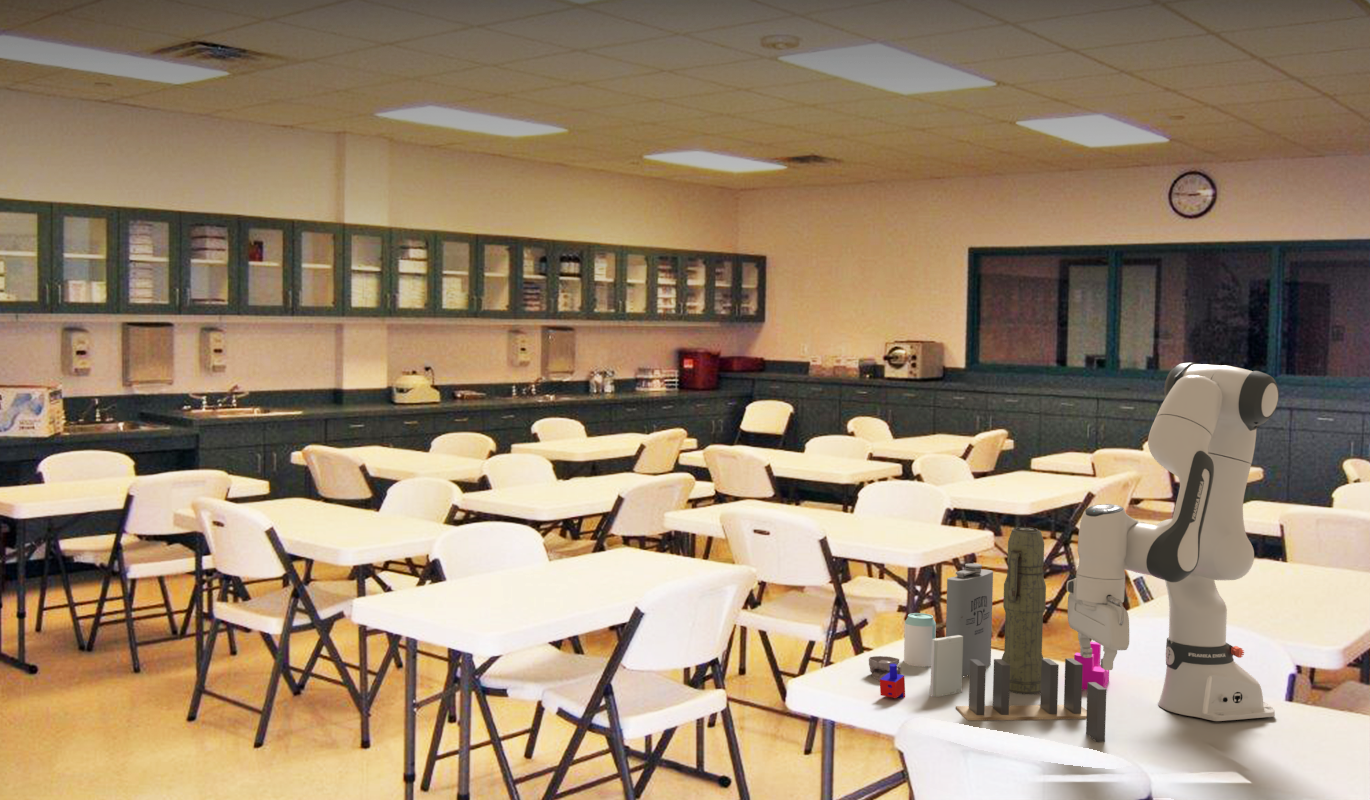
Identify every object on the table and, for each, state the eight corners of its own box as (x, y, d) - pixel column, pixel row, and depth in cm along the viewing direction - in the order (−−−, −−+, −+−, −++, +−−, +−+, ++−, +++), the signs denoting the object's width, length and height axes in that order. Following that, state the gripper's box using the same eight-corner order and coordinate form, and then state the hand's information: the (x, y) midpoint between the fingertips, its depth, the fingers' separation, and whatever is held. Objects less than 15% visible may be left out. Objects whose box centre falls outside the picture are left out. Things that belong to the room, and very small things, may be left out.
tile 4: (1047, 707, 265) (1049, 658, 265) (1057, 714, 260) (1058, 664, 260) (1040, 707, 265) (1041, 658, 265) (1049, 714, 260) (1050, 664, 260)
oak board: (1078, 707, 268) (1078, 704, 267) (1094, 718, 260) (1094, 715, 260) (955, 709, 265) (955, 706, 265) (968, 720, 257) (968, 717, 257)
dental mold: (883, 675, 291) (883, 653, 291) (908, 681, 286) (908, 659, 286) (860, 681, 286) (861, 659, 286) (885, 688, 281) (886, 665, 280)
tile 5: (1071, 706, 266) (1072, 658, 265) (1081, 713, 261) (1082, 664, 260) (1063, 706, 266) (1065, 658, 265) (1073, 713, 261) (1074, 664, 260)
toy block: (1103, 692, 280) (1104, 658, 280) (1073, 689, 283) (1074, 655, 282) (1111, 676, 294) (1112, 644, 293) (1082, 673, 296) (1083, 641, 296)
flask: (961, 682, 286) (964, 569, 285) (942, 678, 289) (945, 567, 288) (996, 667, 299) (999, 560, 298) (977, 664, 302) (980, 557, 301)
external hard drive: (962, 693, 277) (964, 636, 276) (934, 699, 272) (936, 640, 271) (957, 692, 278) (958, 634, 277) (929, 697, 273) (930, 639, 273)
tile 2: (1000, 707, 264) (1001, 659, 264) (1008, 714, 259) (1010, 665, 259) (992, 707, 264) (993, 659, 264) (1000, 714, 259) (1002, 665, 259)
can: (898, 667, 299) (899, 615, 298) (913, 661, 304) (914, 610, 303) (925, 672, 294) (926, 620, 293) (940, 666, 299) (941, 615, 299)
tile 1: (976, 708, 264) (977, 659, 263) (984, 715, 259) (985, 665, 258) (968, 708, 264) (969, 659, 263) (976, 715, 259) (977, 665, 258)
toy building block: (880, 703, 270) (879, 666, 269) (889, 696, 274) (888, 659, 272) (896, 706, 268) (894, 669, 267) (905, 698, 271) (903, 662, 270)
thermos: (1051, 687, 283) (1056, 527, 281) (1031, 698, 273) (1036, 533, 272) (1012, 680, 288) (1017, 523, 287) (992, 691, 279) (996, 529, 277)
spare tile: (1093, 733, 250) (1095, 682, 249) (1104, 741, 245) (1106, 689, 244) (1085, 733, 250) (1087, 682, 249) (1096, 741, 245) (1098, 689, 244)
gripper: (1140, 601, 236) (1136, 677, 236) (1093, 581, 256) (1090, 650, 257) (1107, 601, 235) (1103, 676, 236) (1063, 580, 255) (1059, 650, 256)
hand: (1096, 663), depth 246 cm, fingers open, 8 cm apart
